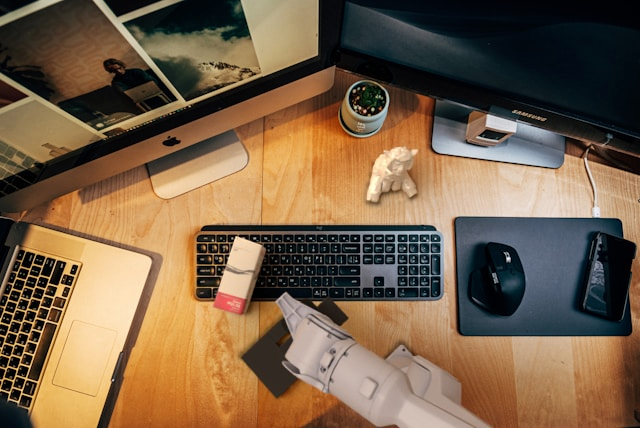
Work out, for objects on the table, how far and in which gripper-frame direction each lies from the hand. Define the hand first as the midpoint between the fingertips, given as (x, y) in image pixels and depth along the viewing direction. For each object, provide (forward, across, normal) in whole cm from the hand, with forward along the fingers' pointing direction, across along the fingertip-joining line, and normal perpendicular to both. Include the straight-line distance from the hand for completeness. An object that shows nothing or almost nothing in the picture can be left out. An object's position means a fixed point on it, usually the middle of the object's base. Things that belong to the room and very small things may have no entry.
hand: (314, 329), depth 70 cm
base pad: (+8, 0, -8) cm, 11 cm away
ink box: (+3, -12, -8) cm, 15 cm away
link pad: (+1, 0, 0) cm, 1 cm away
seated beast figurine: (+8, -10, +28) cm, 31 cm away
